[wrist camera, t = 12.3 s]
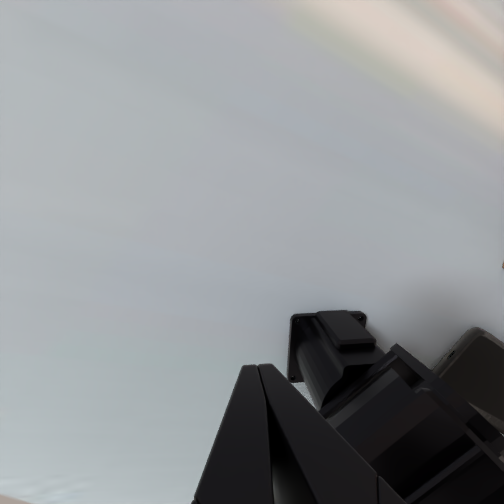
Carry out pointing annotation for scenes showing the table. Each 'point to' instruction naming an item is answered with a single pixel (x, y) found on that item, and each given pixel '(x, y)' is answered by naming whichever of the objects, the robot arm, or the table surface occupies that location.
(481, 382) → the phone
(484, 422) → the robot arm
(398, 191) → the table surface
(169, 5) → the table surface
